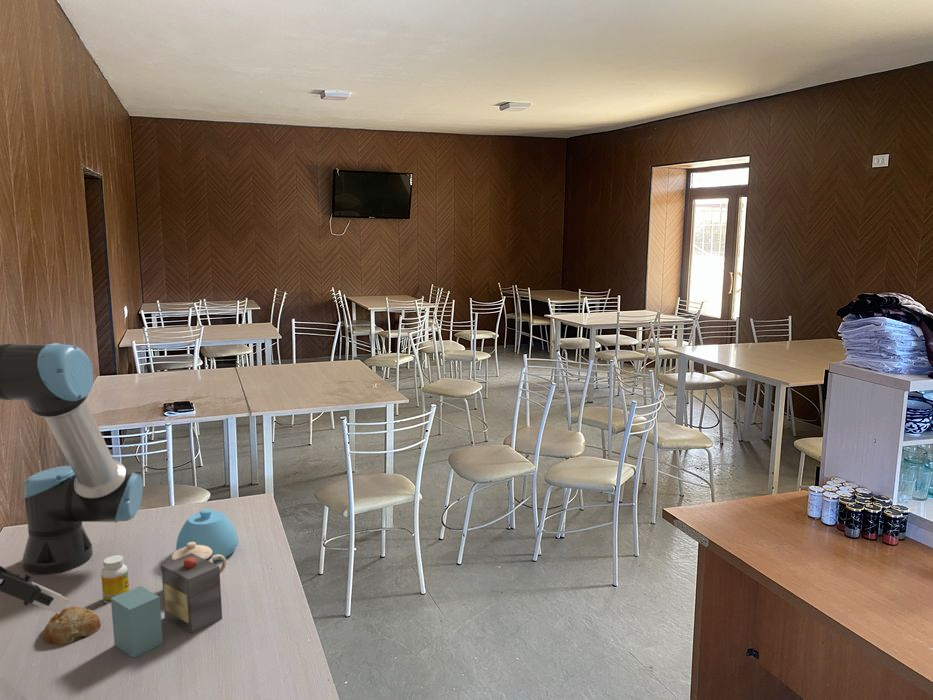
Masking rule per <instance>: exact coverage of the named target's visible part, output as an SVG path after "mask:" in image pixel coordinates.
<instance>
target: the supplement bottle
mask: <svg viewBox="0 0 933 700" xmlns="http://www.w3.org/2000/svg"><path fill="white" fill-rule="evenodd" d="M124 561H125V560H124V556H122V555H119V554H118V555H112V556H108V557H106V558H105V559H104V560H103V569H102V570H101V573H100V578H101V588H102V589H101V590H102V599H103V602H104V603H105V604H107V605H108V604H111V598H112V597H115V596H117V595H120V594H122V593H125V592H127V591H129V590H130V584H129V570H128V566H127V565H126V564H124V563H125V562H124Z"/></svg>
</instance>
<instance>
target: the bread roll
mask: <svg viewBox="0 0 933 700" xmlns="http://www.w3.org/2000/svg"><path fill="white" fill-rule="evenodd" d="M101 625H102V623H101V620H100V617H99V616H98V614H97V613H96V612H94V611H93V610H91V609H89V608H86V607H83V606H74V605H73V606H70V607H67V608H64V609H63V610H62V611H61V613H60V614H59V615H58V614H56V613H54V615H53V616H52V617H50V619H49V621H48V623H47V624H46V625H45V627H44V629H43V634H42V636H43V640H44V642H45V643H46V644H47V645H57V646H60V645H62V646H63V645H68V644H72V643H73V642H74V641H75V642H76V640H82V639H85V638H87V637H90V636H93V635H94V634H95V633H97V632H98V631H99V630H100V629H101Z"/></svg>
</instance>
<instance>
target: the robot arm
mask: <svg viewBox="0 0 933 700" xmlns="http://www.w3.org/2000/svg"><path fill="white" fill-rule="evenodd" d="M93 371H94V370H93V366H92V363H91V360H90V358H89V357H88V355H87V354H86V352H85V351H83V349H82V348H80V347H78V346H76V345H72V344H62V343H57V342H55V343H44V344H43V343H38V344H37V343H28V344H27V343H25V344H23V343H14V344H13V343H12V344H11V343H0V401H3V400H4V401H25V402H26V404H27V405H28V407H29V409H30V411H31V412H32V414H34V415H36V416H37V417H40V418H44V420H45V422H46V424H47V425H48V427H49V429H50V431H51V432H52V435H53V437H54V438H55V441H56V442H57V444H58V446H59V448H60V450H61V452H62V453H63V455H64V457H65V459H66V461H67V463H68V465H63V466H56V467H52V468H47V469H44V470H41V471H38V472H35V473H34V474H32V475H30V476H29V477H28V478H26V479H25V481H24V485H23V498H24V503H25V513H26V515H25V516H26V521H27V530H28V537H27V541H26V544H25V548H24V552H23V556H22V565H23V570H24V571H26V572H28V573H31V574H39V575H40V574H42V575H43V574H53V573H60V572H64V571H67V570H72V569H73V568H76V567H79V566H80V565H83V564H85V563H86V562H88V561H89V560H90V559H91V558H92V557H93V553H94V551H93V545H92V542H91V540H90V538H89V536H88V534H87V532H86V530H85V528H84V526H83V523H84V522H86V523H87V522H91V523H94V522H95V523H118V522H127V521H130V520H132V519H134V518H135V516H136V515H137V513H138V511H139V509H140V505H141V503H142V498H143V491H144V490H143V489H144V487H143V486H144V485H143V479H142V476H141V475H140V474H139V473H135V472H132V473H128V471H127V470H126V468H125V465H124V464H123V463H122V462H120V461H118V460H116V459H114V458H113V456H112V453H111V451H110V449H109V447H108V445H107V443H106V441H105V438H104V436H103V435H102V432H101V430H100V428H99V425H98V424H97V421H96V420H95V418H94V417H95V416H94V415H93V413H92V411H91V409H90V407H89V405H88V403H87V399H88V397H89V395H90V392H91V390H92V389H93V384H94V375H93V373H92V372H93ZM31 579H32V576H31V575H29V574H25V576H24V577H22V576H21V575H20V574H19V573H15V572H13V571H10V570H9V569H7V568H5V567H3V566H1V565H0V592H1V593H4V594H6V595H8V596H11V597H13V598H16V599H19V600H21V601H23V602H22V604H23V605H24V606H25V607H28V605H29V604H30V605H32V604H33V605H35V606H38V607H40V608H42V609H45V610H46V611H49V612H52V613H54V614H58V615H59V614H60V613H61V611H62V610H63V609H65V607H66V606H67V604H68V603H69V601H70V600H69V599H68V598H67V597H65V596H63V595H62V594H61V593H58V592H56V591H54V590H51V589H50V588H47V587H45V586H43V585H40V584H38V583H36V582H34V581H30V580H31Z"/></svg>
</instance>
